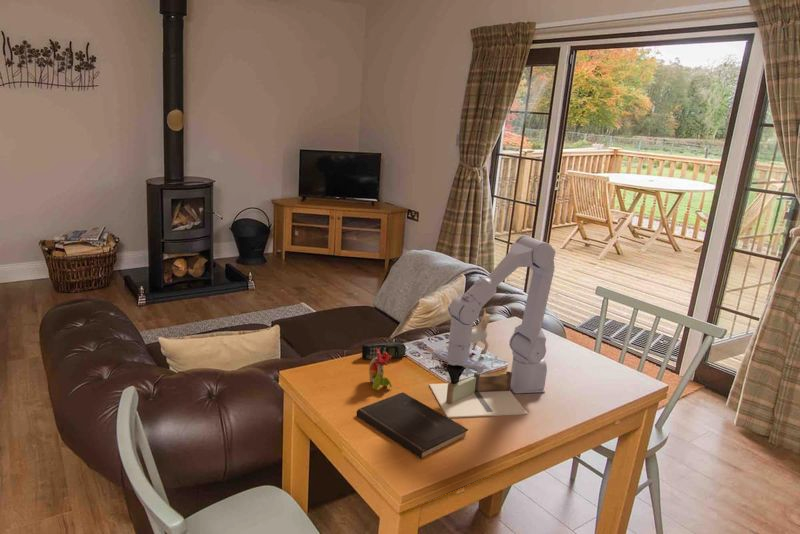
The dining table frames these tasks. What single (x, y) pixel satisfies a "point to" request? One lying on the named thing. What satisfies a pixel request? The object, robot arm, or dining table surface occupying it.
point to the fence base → (493, 382)
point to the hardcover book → (411, 424)
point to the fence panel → (460, 389)
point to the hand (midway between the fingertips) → (454, 389)
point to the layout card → (478, 403)
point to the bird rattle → (379, 370)
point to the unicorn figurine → (480, 332)
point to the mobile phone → (383, 349)
